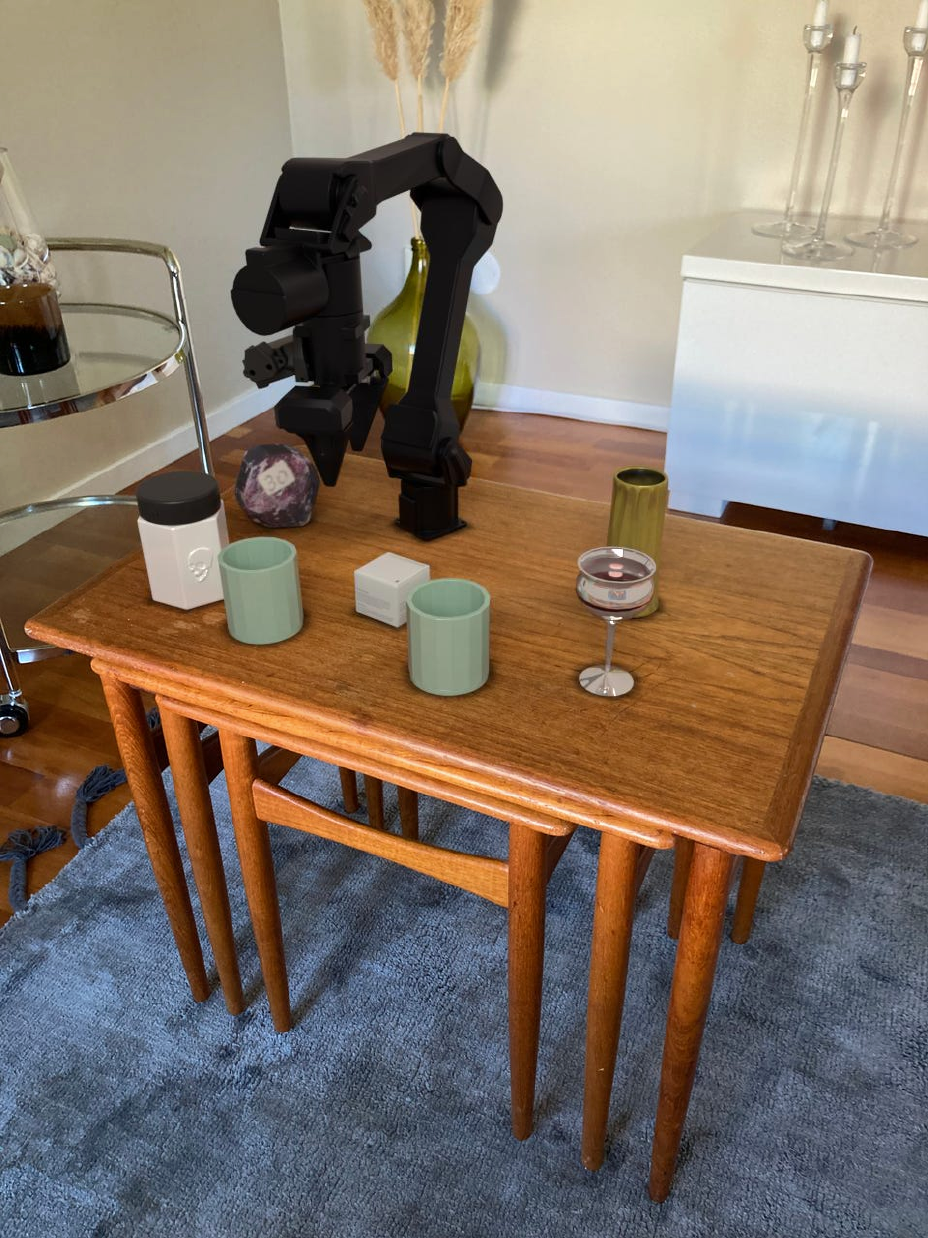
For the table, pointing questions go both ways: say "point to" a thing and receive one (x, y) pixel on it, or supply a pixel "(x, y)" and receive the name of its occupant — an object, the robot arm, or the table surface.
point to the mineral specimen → (277, 486)
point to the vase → (639, 516)
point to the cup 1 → (261, 589)
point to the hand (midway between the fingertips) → (344, 467)
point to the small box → (387, 587)
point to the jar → (182, 537)
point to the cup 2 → (448, 636)
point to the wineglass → (613, 605)
